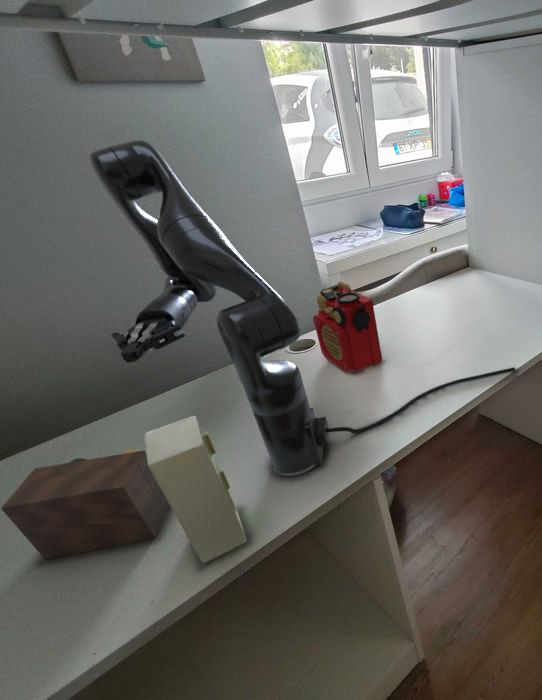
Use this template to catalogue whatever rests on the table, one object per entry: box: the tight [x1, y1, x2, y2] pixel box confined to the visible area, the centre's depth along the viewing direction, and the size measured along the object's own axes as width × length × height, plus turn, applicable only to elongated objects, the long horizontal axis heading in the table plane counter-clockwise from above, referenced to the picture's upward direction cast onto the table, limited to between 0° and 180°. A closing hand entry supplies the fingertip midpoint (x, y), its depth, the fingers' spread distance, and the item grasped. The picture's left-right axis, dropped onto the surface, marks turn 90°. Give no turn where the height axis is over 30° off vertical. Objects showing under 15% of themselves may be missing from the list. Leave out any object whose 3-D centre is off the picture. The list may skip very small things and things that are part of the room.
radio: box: [312, 280, 383, 372], centre depth 112 cm, size 16×10×20 cm, turn 45°
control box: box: [0, 449, 171, 560], centre depth 72 cm, size 16×11×12 cm
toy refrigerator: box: [143, 415, 248, 564], centre depth 67 cm, size 8×7×21 cm
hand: (128, 357), depth 79 cm, fingers closed
